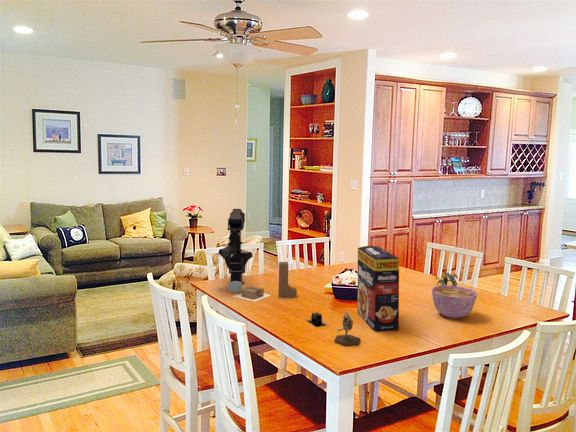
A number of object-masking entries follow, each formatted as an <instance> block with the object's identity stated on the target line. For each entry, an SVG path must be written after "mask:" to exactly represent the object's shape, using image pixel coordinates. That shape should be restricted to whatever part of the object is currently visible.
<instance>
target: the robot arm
mask: <svg viewBox="0 0 576 432" xmlns="http://www.w3.org/2000/svg"><path fill="white" fill-rule="evenodd" d="M245 221H246V214H245V213H244V212H243V211H242V209H241V208H233V209H232V212H230V214H229V218H227V231H229V236H228V240H229V241H228V242H227V246H225V247H222V248H220V249H219V250H218V255H220V257H221V258H223V260H224V262H225V265H226V268H227V269H228V274H230V282H232V281H238V282H242V285H243V284H245V281H243V274H245V273H246V265H247V263H248V262H249V260H251V259H252V258H254V257H253V252H252V251H247V250H245V251H243V249H242V244H243V241H242V231H243V230H244V229H245V223H246V222H245Z"/></svg>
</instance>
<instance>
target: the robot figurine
mask: <svg viewBox="0 0 576 432" xmlns="http://www.w3.org/2000/svg"><path fill="white" fill-rule="evenodd" d="M350 316H351V313H350V312H345V314H344V315H343V320H342V328H338V329H337V331H338V332H340V331H342V330H343V331H345V333H344V334H339V335H336V337H335V338H334V340H333V341H334V344H338V345H340V346H343V347H356V346H357V347H358V346H359V345H360V342H361V337H358V336H354V335H352V334H348V332H349V331H352V329H353V324H354V320H353V319H352V318H351V317H350Z"/></svg>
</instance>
